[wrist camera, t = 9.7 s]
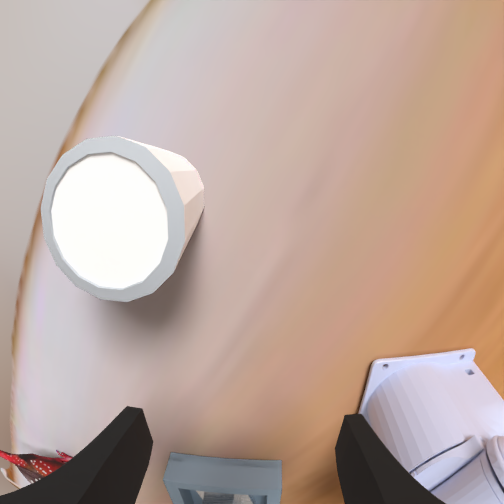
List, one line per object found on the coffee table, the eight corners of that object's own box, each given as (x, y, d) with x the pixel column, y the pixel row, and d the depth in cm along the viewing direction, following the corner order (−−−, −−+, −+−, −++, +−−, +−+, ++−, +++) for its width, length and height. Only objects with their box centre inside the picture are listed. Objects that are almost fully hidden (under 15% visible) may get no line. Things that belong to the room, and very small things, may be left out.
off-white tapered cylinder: (177, 274, 20) (136, 332, 13) (91, 213, 19) (23, 244, 12) (239, 181, 18) (221, 199, 11) (143, 118, 17) (80, 105, 10)
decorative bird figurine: (124, 484, 29) (101, 546, 19) (7, 422, 28) (-28, 469, 18) (125, 475, 28) (100, 541, 18) (3, 410, 27) (-35, 458, 17)
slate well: (281, 460, 25) (282, 489, 21) (275, 508, 28) (275, 531, 25) (171, 452, 25) (162, 479, 22) (187, 501, 29) (182, 524, 25)
